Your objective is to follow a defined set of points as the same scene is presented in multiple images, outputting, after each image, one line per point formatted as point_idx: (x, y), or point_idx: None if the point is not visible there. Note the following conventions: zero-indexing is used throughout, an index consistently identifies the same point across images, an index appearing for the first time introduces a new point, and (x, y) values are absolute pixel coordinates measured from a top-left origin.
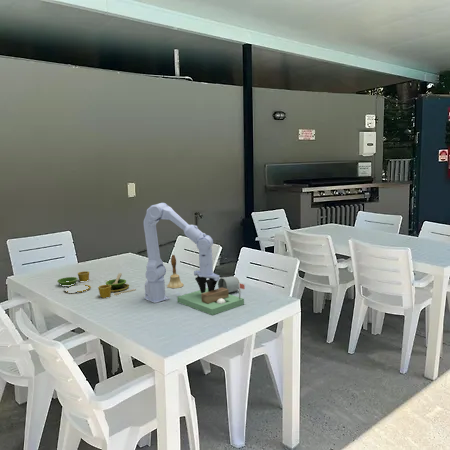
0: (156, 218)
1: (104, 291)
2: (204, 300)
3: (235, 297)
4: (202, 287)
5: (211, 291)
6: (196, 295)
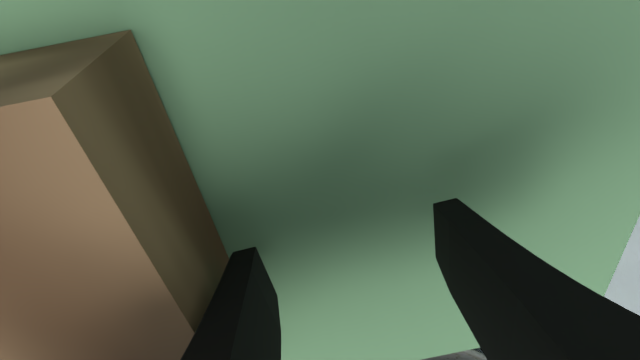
0: None
1: None
2: (12, 63)
3: None
4: (483, 294)
5: (146, 333)
6: (511, 118)
